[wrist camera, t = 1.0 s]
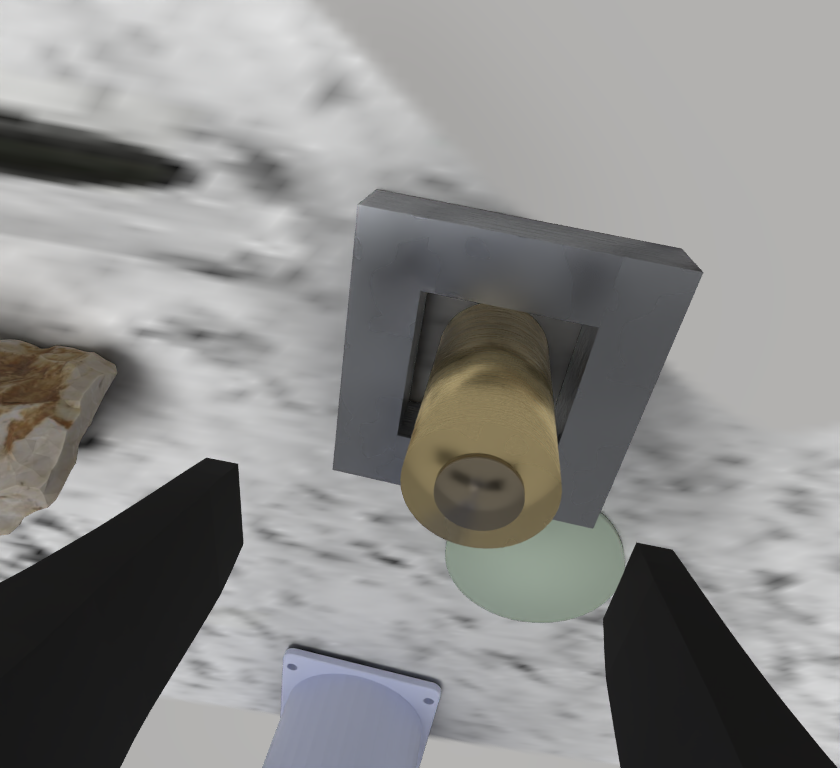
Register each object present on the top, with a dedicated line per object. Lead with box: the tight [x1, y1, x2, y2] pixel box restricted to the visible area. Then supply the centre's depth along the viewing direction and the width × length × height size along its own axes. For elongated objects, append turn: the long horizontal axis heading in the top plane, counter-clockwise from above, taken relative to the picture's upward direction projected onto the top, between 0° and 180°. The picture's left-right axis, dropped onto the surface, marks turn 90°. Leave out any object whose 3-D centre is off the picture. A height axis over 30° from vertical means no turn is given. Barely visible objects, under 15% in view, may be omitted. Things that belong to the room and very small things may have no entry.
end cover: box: [400, 304, 562, 549], centre depth 15 cm, size 4×4×7 cm
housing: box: [333, 189, 703, 529], centre depth 18 cm, size 9×9×2 cm
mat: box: [445, 512, 625, 623], centre depth 22 cm, size 7×7×1 cm
